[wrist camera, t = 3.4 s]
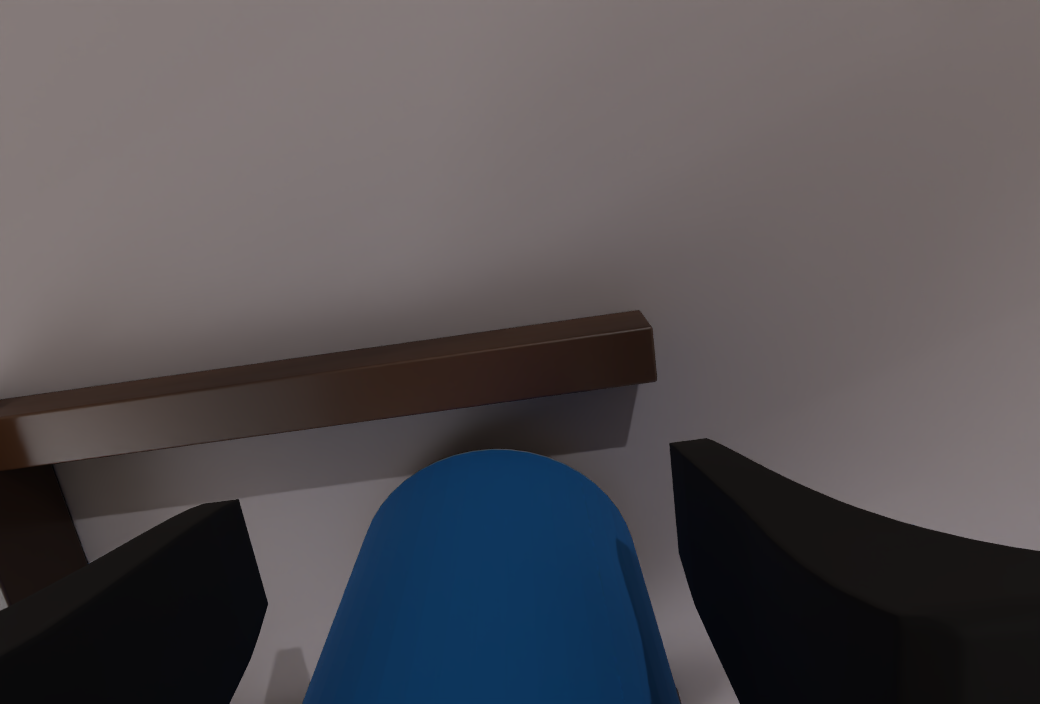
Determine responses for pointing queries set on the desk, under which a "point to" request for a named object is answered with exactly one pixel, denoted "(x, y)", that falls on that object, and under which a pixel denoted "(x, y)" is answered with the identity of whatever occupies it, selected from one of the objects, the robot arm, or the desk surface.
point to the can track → (281, 412)
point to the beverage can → (495, 595)
